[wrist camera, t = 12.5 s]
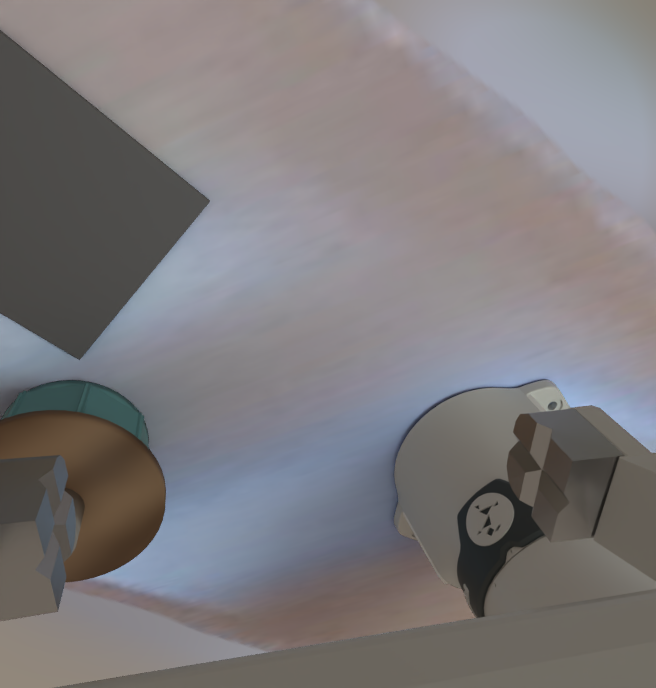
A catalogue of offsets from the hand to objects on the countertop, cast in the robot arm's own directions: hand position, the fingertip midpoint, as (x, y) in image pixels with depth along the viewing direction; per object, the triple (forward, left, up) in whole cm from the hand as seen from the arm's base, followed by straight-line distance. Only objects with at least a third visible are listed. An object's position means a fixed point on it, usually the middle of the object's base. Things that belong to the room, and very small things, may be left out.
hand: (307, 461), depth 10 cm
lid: (-4, +22, -24) cm, 33 cm away
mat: (+7, +9, -30) cm, 32 cm away
